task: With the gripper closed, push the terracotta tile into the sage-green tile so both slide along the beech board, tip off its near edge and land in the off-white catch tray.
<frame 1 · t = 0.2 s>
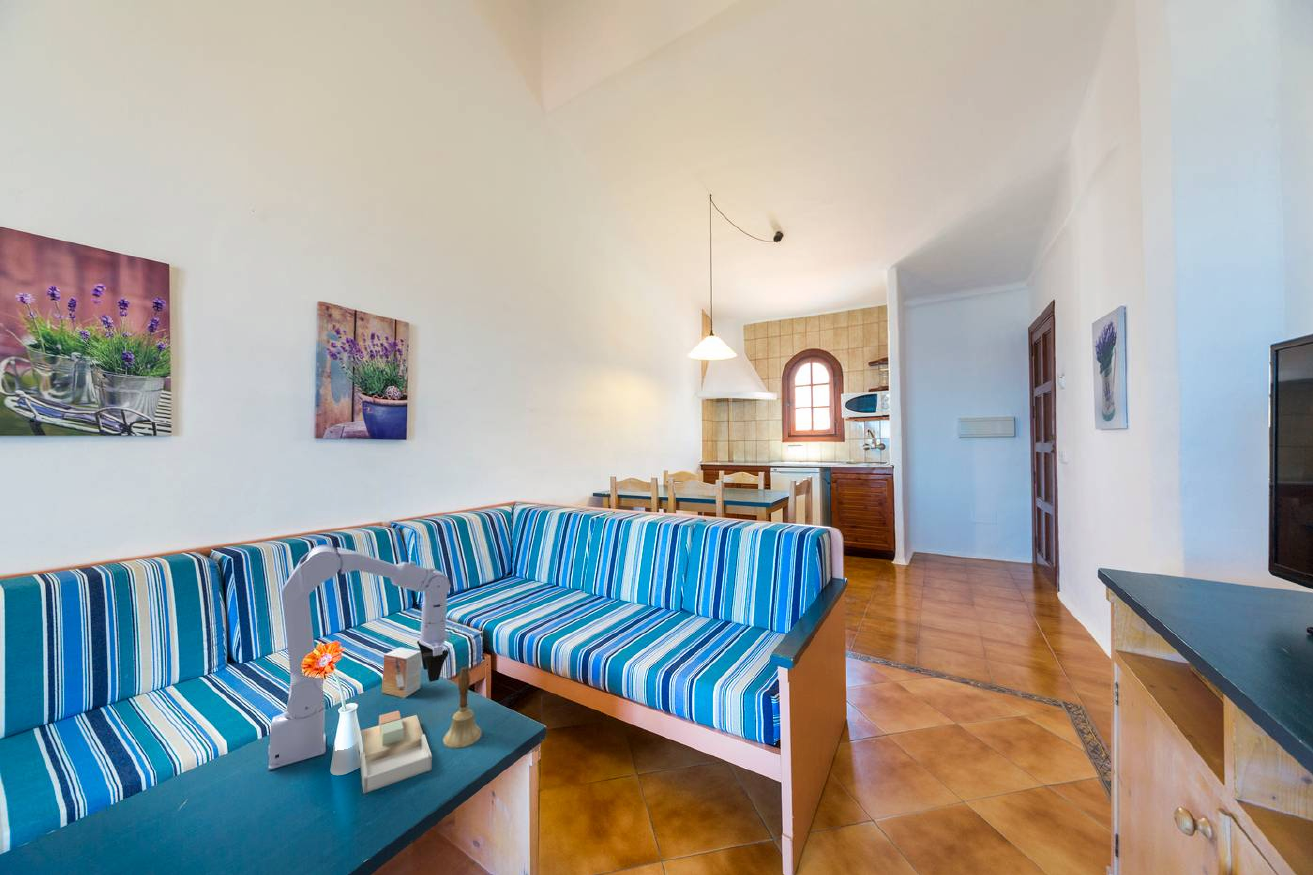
hand: (431, 674, 116), 10 cm above the table, fingers open, 7 cm apart
small box: (401, 691, 126), on the table
hand bell: (462, 738, 106), on the table
catch tray: (395, 768, 95), on the table
terracotta tile: (389, 727, 106), point 2 cm above the table, touching beech board
sage tile: (391, 737, 102), point 2 cm above the table, touching beech board
beech board: (390, 743, 103), on the table
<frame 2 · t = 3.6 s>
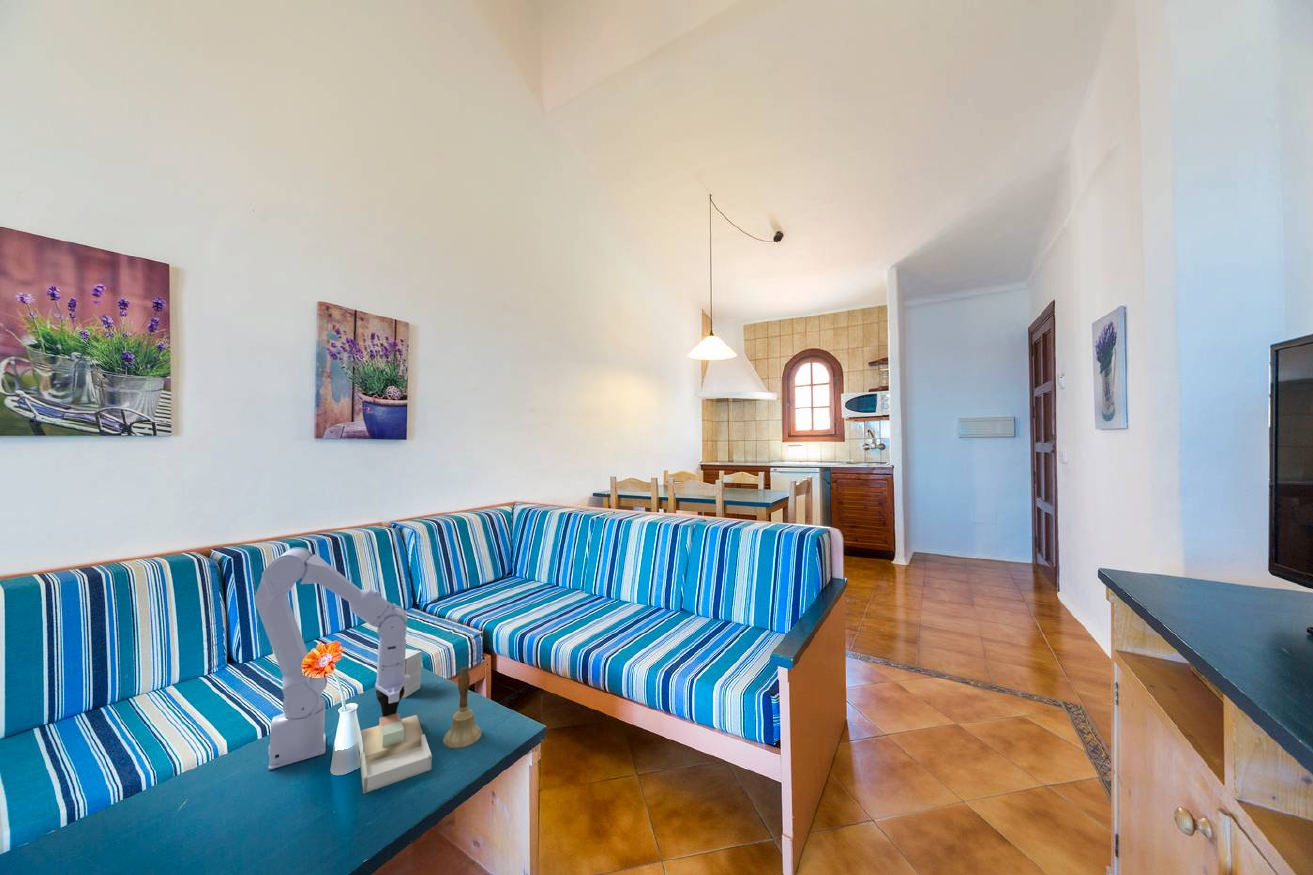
hand: (388, 720, 107), 3 cm above the table, fingers closed
terracotta tile: (390, 730, 105), point 2 cm above the table, touching gripper
sage tile: (391, 739, 102), point 2 cm above the table
everything else where it was.
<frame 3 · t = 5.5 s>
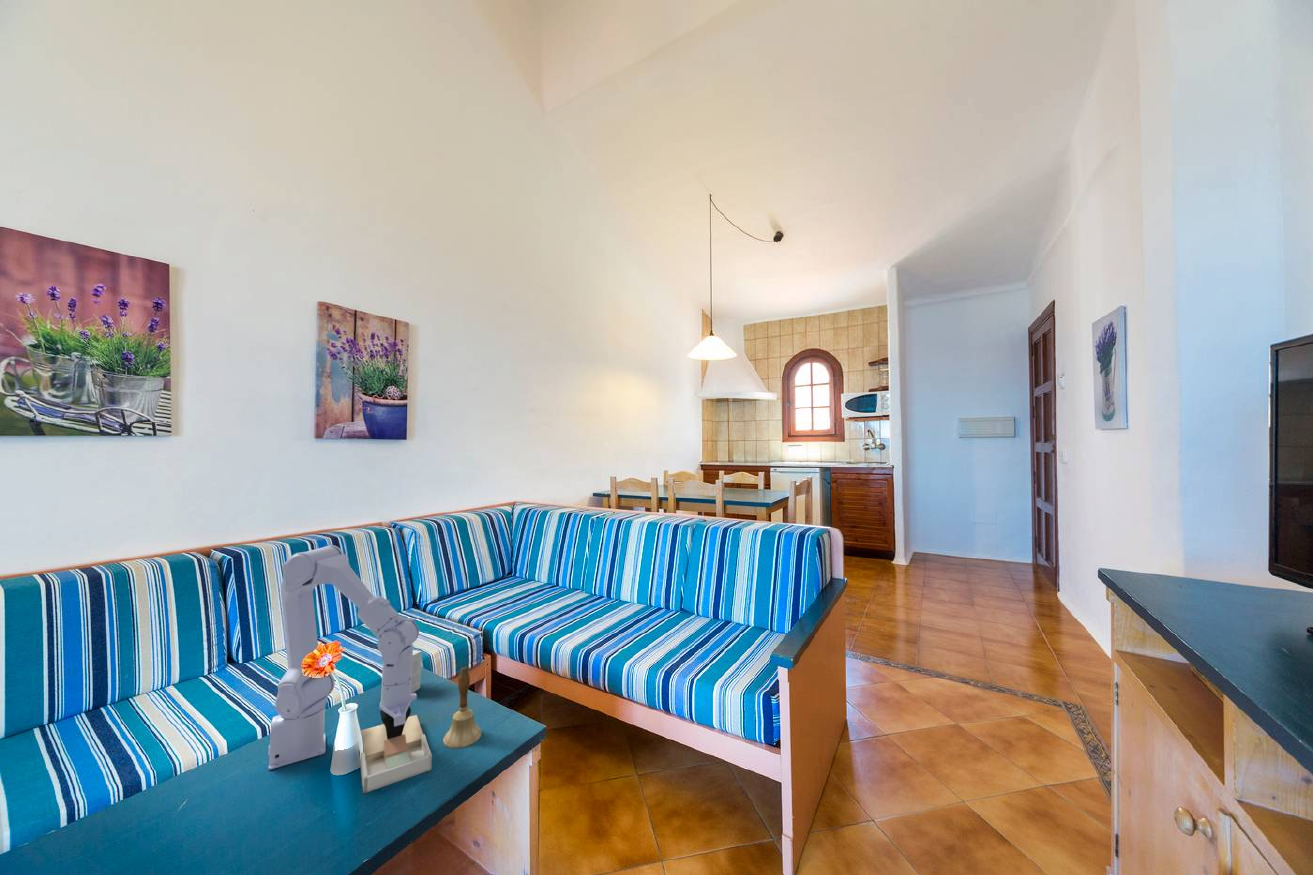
hand: (394, 743, 99), 3 cm above the table, fingers closed, pressing on terracotta tile
terracotta tile: (394, 754, 97), point 1 cm above the table, tilted 16°, touching gripper, sage tile
sage tile: (397, 771, 94), resting on catch tray, touching terracotta tile
everything else where it was.
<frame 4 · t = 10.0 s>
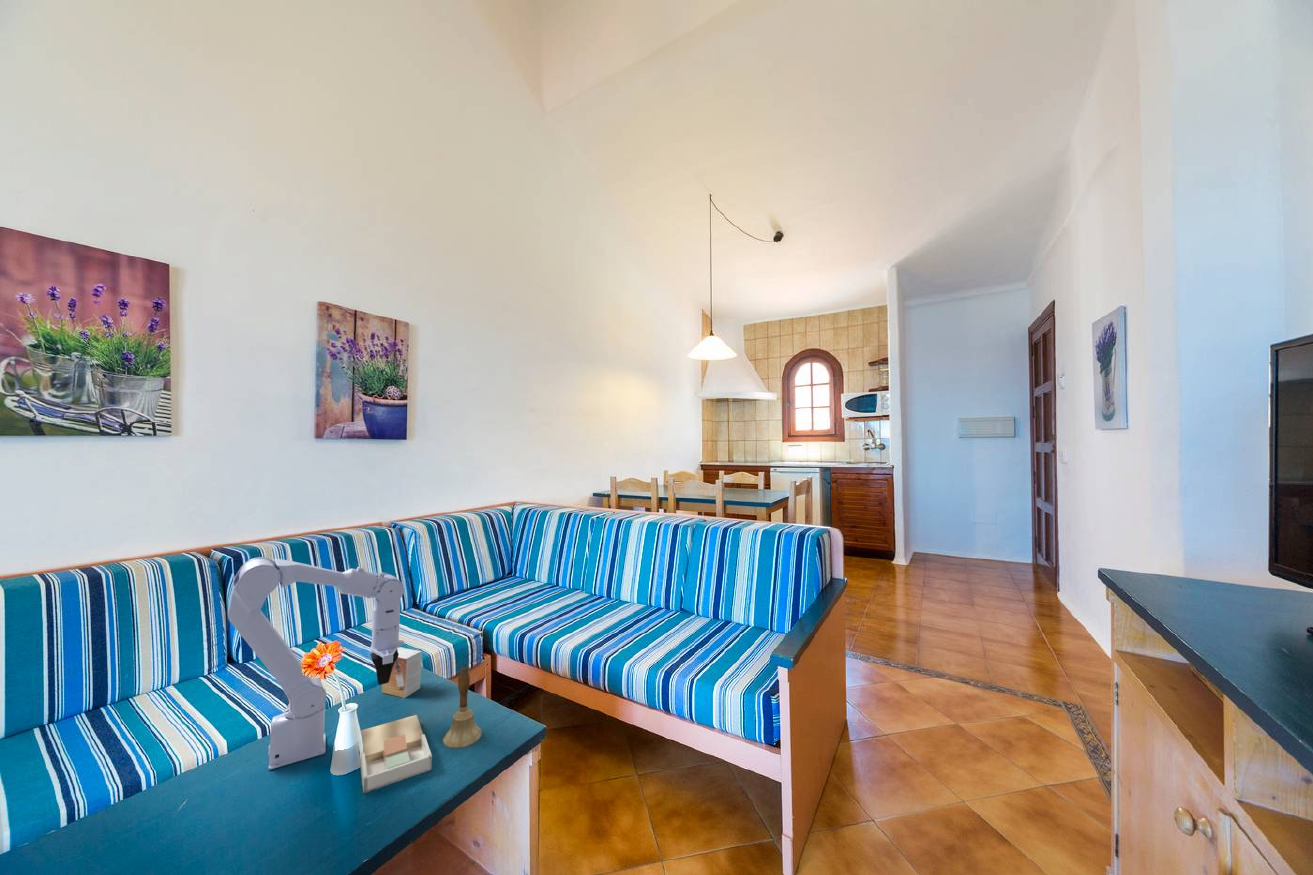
hand: (383, 682, 111), 10 cm above the table, fingers closed
terracotta tile: (394, 754, 97), point 1 cm above the table, tilted 14°, touching beech board, sage tile
everything else where it was.
at the end: terracotta tile inside the target area (3.2 cm from its centre), point 1.5 cm above the table; sage tile inside the target area (1.2 cm from its centre), point 0.5 cm above the table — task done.
